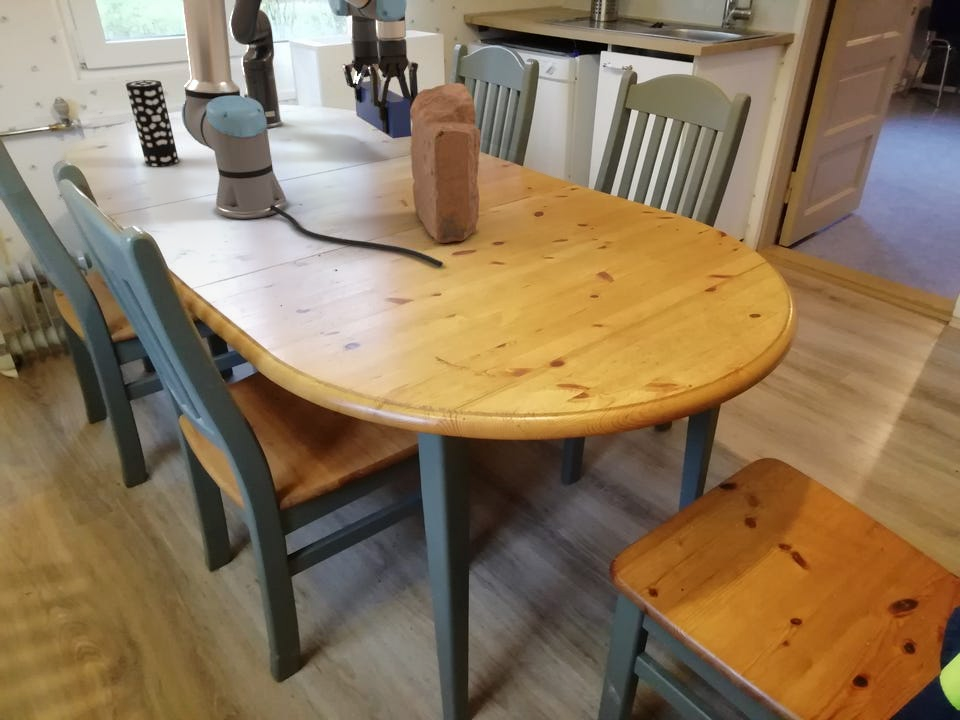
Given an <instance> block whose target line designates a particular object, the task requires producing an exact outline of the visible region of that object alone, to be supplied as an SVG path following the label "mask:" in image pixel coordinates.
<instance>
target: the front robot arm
mask: <svg viewBox="0 0 960 720" xmlns="http://www.w3.org/2000/svg"><path fill="white" fill-rule="evenodd" d="M327 2H328V4H329V8H330V10H331V12H332V13H333V14H334V15H335V16H337V17H346V18H347V17H350V16H360V17H365V18H371V19H376V34H377V37H378V40H377V51H378V60H377V63H376V64H374V65H372V66H371V65H368V66H367V69H368V72H369V74H370V76H369V81H370V96H371V104H372V105H374V106H376V107H378V114H379V119H380V120H381V121H382V127H383V132H385V133H386V134H385V133H384V134H385V135H387V133H389V123H388V108H386V107H385V103H386V98H387V92H388V90H389V87H390V82H391V80H392V79H393V78H396V79H397V80H398V85H399V87H400V92H401V95H402V97H404V98H406V99H408V100H410V109H411V106H412V104H413V102H414V100H415V98H416V96H417V95H418V93H419V89H418V88H419V86H418V68H419V63H417V62H414V61H409V59H408V56H407V55H408V52H407V51H408V49H407V40H406V37H407V27H406V25H407V24H406V10H407V0H328V1H327ZM181 5H182V14H183V22H184V30H185V31H184V32H185V39H186V47H187V56H188V57H187V58H188V67H189V74H190V79H189V80H188V81H187V83H185V85H184V92H185V93H184V94H185V101H184V102H183V104H182V108H181V119H182V123H183V125H184V127H185V129H186V131H187V132H188V134H189V135H190V136H191V138H193V139H194V140H195V141H196V142H198V143H199V144H201V145H202V146H204V147H207V148H208V149H211V150H212V151H214V156H215V160H216V167H217V169H218V170H217V172H218V185H217V193H216V201H215V206H216V210H217V213H218V214H219V215H221V216H223V217H225V218H229V219H236V220H253V219H260V218H261V219H262V218H265V217H266V218H267V217H270V216H274V215H276V214H278V215H280V216H282V217H283V218H284V219H286V220H288V222H291V224H292V225H293V226H294V227H295V229H296V230H297V231H298V232H300V233H301V234H303V235H306V236H309V237H311V238H315V239H319V240H323V241H328V242H331V243H332V242H333V243H337V244H345V245H351V246H357V247H358V246H359V247H366V248H373V249H379V250H385V251H392V252H398V253H402V254H406V255H410V256H414V257H416V258H419V259H422V260H424V261H426V262H429V263H431V264H433V265H435V266H438V267H442V266H443V264H444V262H443V261H441V260H438V259H436V258H433V257H432V256H430V255H427V254H425V253H423V252H419V251H416V250H413V249H409V248H405V247H402V246H401V247H400V246H397V245H396V246H395V245H390V244H382V243H376V242H371V241H364V240H363V241H362V240H355V239H348V238H340V237H335V236H331V235H326V234H322V233H321V234H320V233H318V232H317V233H316V232H314V231H310V230H308V229H305V228H304V227H302V226H301V225H300V224H299V223H298V221H297V220H296V219H295V218H294V217H293V216H292V215H290V214H288V213H287V212H285V211H284V210H285V209H286V207H287V199H286V194H285V193H284V191H283V189H282V187H281V184H280V182H279V180H278V179H277V177H276V175H275V172H274V167H273V160H272V154H271V153H272V152H271V147H270V140H269V133H268V128H267V122H266V117H265V115H264V110H263V107H262V106H261V104H260V103H259V102H258V101H256V100H254V99H252V98H249V97H244V96H242V95H241V91H240V90H241V89H240V87H239V86H238V84H237V83H235V82H234V80H233V79H232V68H231V67H232V66H231V56H230V45H229V44H230V43H229V35H228V24H227V23H228V21H227V11H226V0H181ZM378 68H379V69H378ZM407 69H408V79H409V87H408V82H407V77H406V73H405V71H406V70H407ZM379 70H380V72H381V76H380V79H381V80H382V81H381V86H380V92H379V97H378V78H377V73H379ZM383 132H382V133H383Z"/></svg>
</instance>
